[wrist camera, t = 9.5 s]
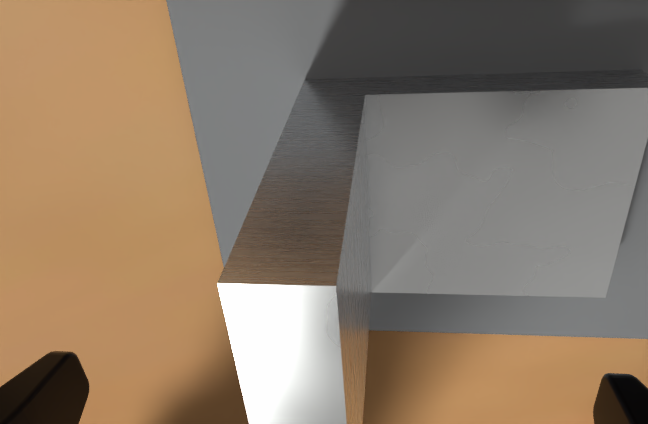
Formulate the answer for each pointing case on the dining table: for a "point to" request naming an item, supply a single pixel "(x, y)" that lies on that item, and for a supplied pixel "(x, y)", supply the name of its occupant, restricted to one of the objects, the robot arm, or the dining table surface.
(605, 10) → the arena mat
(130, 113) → the dining table surface
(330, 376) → the bracket
